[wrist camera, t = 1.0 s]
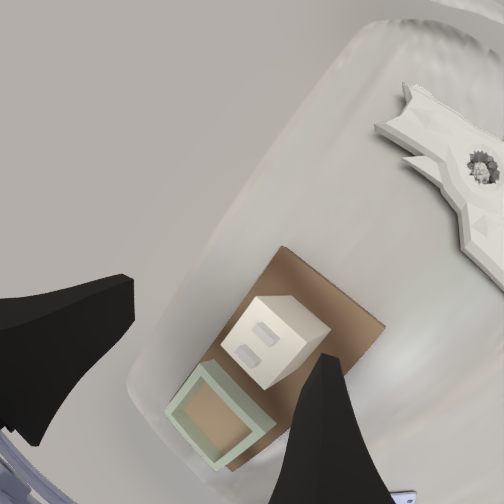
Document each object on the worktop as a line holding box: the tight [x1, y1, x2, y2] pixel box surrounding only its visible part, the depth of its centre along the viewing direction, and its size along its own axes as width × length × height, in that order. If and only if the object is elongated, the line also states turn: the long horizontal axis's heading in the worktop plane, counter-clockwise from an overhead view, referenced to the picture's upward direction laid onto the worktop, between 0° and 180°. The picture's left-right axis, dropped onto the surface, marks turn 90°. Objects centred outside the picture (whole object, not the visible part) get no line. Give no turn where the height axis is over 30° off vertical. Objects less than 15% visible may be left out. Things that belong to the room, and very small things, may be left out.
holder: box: [163, 359, 277, 472], centre depth 22 cm, size 8×8×2 cm
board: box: [170, 246, 386, 472], centre depth 22 cm, size 20×10×1 cm, turn 140°
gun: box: [374, 83, 504, 292], centre depth 14 cm, size 18×3×10 cm
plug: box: [221, 295, 331, 390], centre depth 18 cm, size 4×4×6 cm
